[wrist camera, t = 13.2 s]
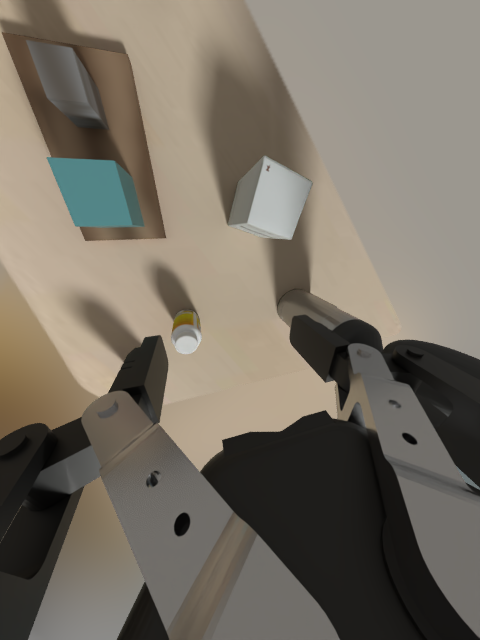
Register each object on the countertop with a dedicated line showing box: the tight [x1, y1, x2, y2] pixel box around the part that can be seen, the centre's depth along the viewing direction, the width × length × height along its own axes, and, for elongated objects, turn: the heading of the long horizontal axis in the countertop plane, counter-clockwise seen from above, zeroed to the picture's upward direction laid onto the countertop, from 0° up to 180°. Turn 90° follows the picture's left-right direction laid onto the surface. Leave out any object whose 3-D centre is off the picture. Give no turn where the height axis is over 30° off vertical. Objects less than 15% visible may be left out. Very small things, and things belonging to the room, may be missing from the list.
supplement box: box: [228, 155, 313, 240], centre depth 27 cm, size 7×7×13 cm
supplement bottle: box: [171, 310, 202, 354], centre depth 35 cm, size 6×6×10 cm
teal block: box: [47, 157, 145, 228], centre depth 23 cm, size 6×6×7 cm
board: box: [2, 32, 166, 241], centre depth 22 cm, size 12×20×7 cm, turn 1°
